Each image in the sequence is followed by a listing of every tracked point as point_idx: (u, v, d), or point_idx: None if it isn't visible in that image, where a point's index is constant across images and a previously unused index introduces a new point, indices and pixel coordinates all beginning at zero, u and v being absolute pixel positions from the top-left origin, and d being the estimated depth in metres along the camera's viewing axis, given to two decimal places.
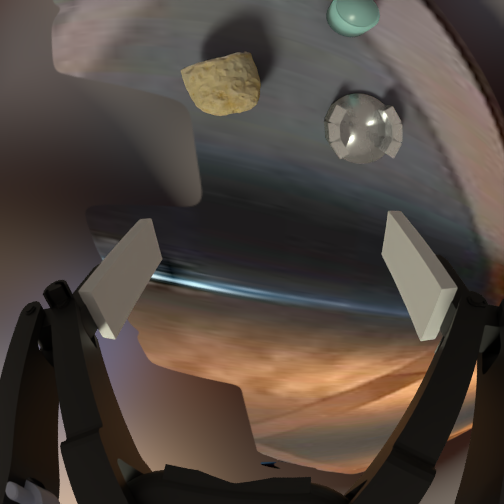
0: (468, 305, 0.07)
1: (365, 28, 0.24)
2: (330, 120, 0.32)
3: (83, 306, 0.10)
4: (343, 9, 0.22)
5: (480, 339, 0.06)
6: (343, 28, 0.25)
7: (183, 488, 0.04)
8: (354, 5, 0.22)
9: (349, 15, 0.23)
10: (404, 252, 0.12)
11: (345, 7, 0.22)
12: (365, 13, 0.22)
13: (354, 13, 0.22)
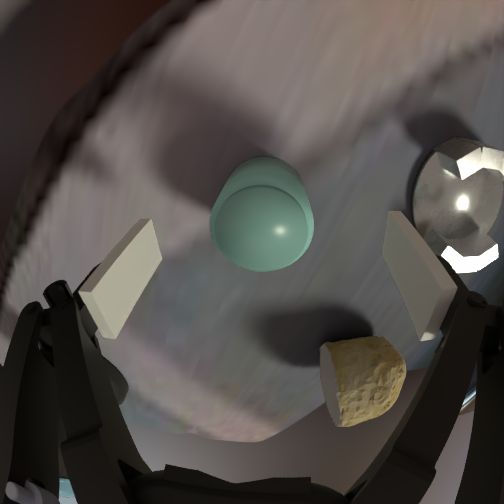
0: (468, 305, 0.07)
1: (309, 215, 0.16)
2: None
3: (83, 306, 0.10)
4: (269, 260, 0.17)
5: (480, 339, 0.06)
6: None
7: (183, 488, 0.04)
8: (254, 239, 0.16)
9: (282, 252, 0.16)
10: (404, 252, 0.12)
11: (262, 257, 0.17)
12: (272, 218, 0.15)
13: (276, 241, 0.16)
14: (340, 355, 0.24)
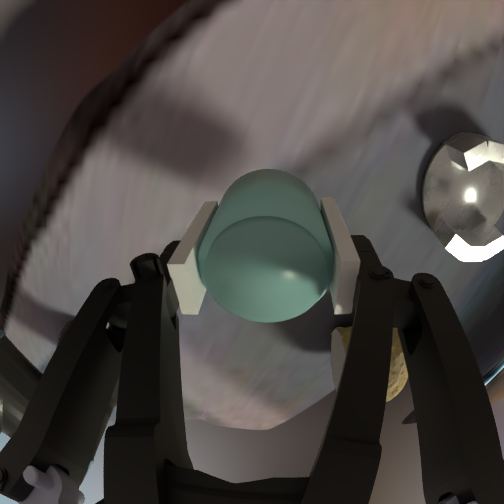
0: (371, 279, 0.09)
1: (329, 255, 0.12)
2: (461, 258, 0.19)
3: (170, 280, 0.11)
4: (275, 311, 0.13)
5: (392, 309, 0.08)
6: None
7: (183, 488, 0.04)
8: (256, 286, 0.12)
9: (292, 301, 0.12)
10: None
11: (266, 306, 0.13)
12: (280, 261, 0.11)
13: (284, 289, 0.12)
14: None
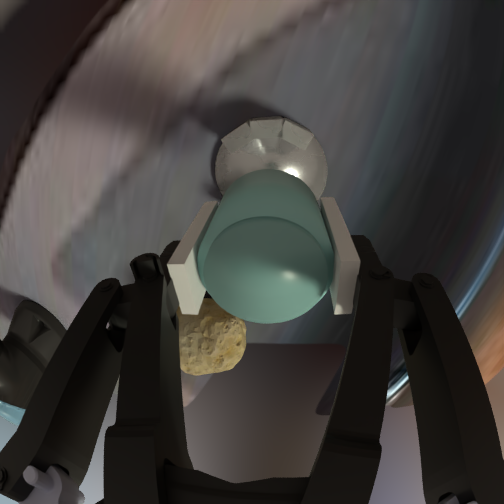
0: (371, 279, 0.09)
1: (330, 256, 0.12)
2: None
3: (170, 280, 0.11)
4: (275, 311, 0.13)
5: (392, 309, 0.08)
6: None
7: (183, 488, 0.04)
8: (255, 287, 0.12)
9: (292, 302, 0.12)
10: None
11: (266, 307, 0.13)
12: (280, 262, 0.11)
13: (284, 290, 0.12)
14: None
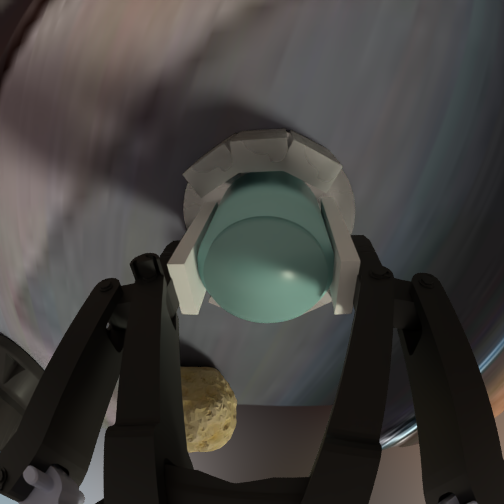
0: (371, 279, 0.09)
1: (330, 255, 0.12)
2: None
3: (170, 280, 0.11)
4: (275, 311, 0.13)
5: (392, 309, 0.08)
6: None
7: (183, 488, 0.04)
8: (255, 287, 0.12)
9: (292, 301, 0.12)
10: None
11: (266, 307, 0.13)
12: (280, 262, 0.11)
13: (285, 290, 0.12)
14: None
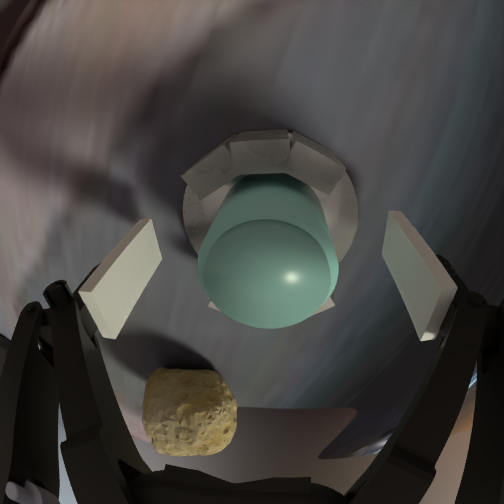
0: (468, 305, 0.07)
1: (333, 260, 0.11)
2: None
3: (83, 306, 0.10)
4: (276, 317, 0.12)
5: (480, 339, 0.06)
6: None
7: (183, 488, 0.04)
8: (256, 291, 0.12)
9: (294, 307, 0.12)
10: (404, 252, 0.12)
11: (267, 312, 0.12)
12: (282, 266, 0.11)
13: (286, 295, 0.12)
14: (154, 385, 0.22)
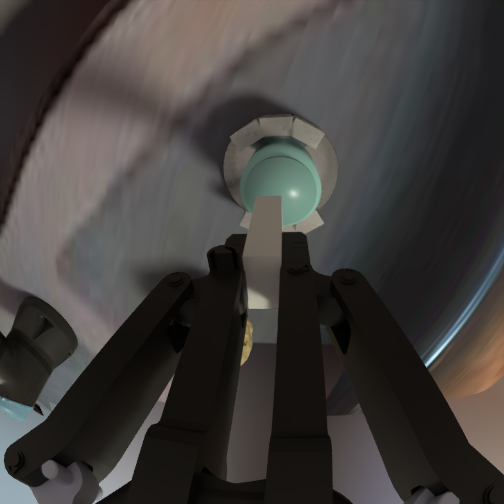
0: (290, 275, 0.10)
1: (317, 180, 0.20)
2: None
3: (244, 273, 0.11)
4: (286, 216, 0.21)
5: (315, 301, 0.09)
6: None
7: None
8: None
9: (296, 208, 0.20)
10: None
11: None
12: (289, 181, 0.19)
13: (291, 200, 0.20)
14: None
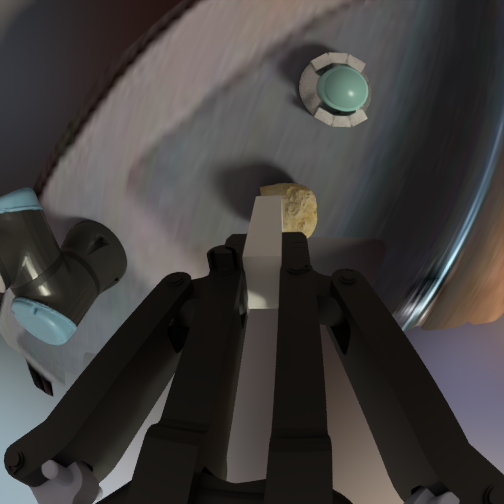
0: (290, 275, 0.10)
1: (366, 85, 0.28)
2: (329, 124, 0.34)
3: (244, 273, 0.11)
4: (349, 102, 0.29)
5: (315, 301, 0.09)
6: None
7: None
8: (343, 91, 0.29)
9: (355, 98, 0.29)
10: None
11: (346, 100, 0.29)
12: (351, 82, 0.28)
13: (352, 93, 0.29)
14: (266, 187, 0.39)
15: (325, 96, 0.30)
